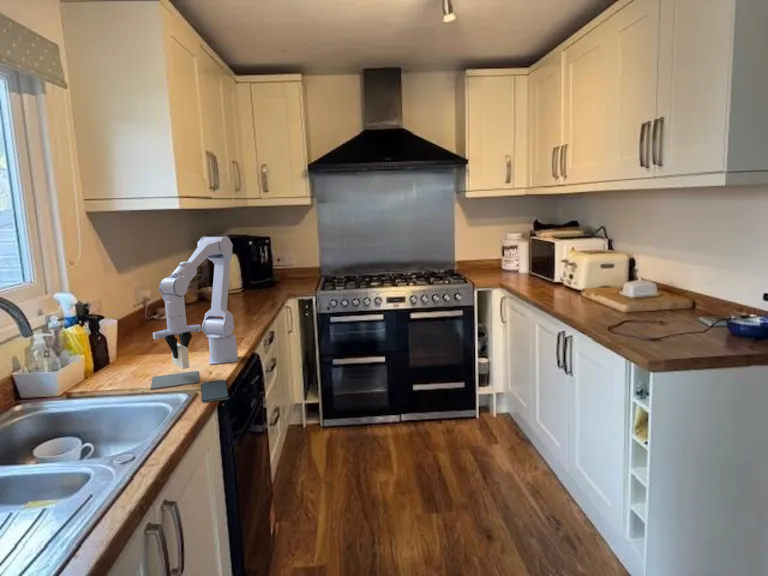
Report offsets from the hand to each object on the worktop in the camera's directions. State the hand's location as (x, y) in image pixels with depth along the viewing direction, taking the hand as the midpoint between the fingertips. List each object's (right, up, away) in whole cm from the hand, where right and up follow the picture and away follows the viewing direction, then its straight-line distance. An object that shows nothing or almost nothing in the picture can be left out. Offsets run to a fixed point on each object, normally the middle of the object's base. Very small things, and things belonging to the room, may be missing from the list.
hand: (180, 357), depth 170 cm
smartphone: (+15, -10, -11) cm, 21 cm away
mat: (-2, -8, +1) cm, 8 cm away
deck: (0, -3, 0) cm, 3 cm away
